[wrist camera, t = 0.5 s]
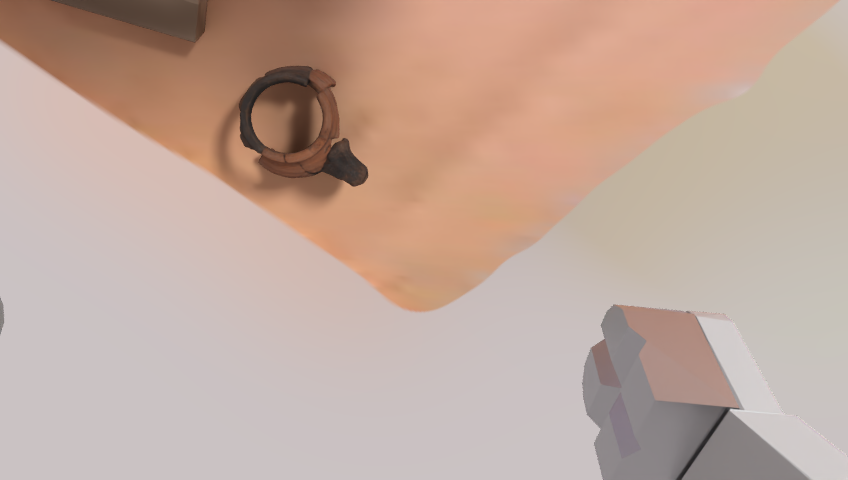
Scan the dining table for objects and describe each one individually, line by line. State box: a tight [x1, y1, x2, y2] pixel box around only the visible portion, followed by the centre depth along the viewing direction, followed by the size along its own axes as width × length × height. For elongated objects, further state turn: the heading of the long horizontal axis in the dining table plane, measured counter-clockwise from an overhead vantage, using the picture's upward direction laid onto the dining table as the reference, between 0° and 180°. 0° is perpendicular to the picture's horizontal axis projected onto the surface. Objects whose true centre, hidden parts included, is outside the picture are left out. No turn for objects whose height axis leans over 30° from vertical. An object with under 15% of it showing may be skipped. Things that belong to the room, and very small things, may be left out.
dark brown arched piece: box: [239, 66, 368, 186], centre depth 53 cm, size 12×10×8 cm
